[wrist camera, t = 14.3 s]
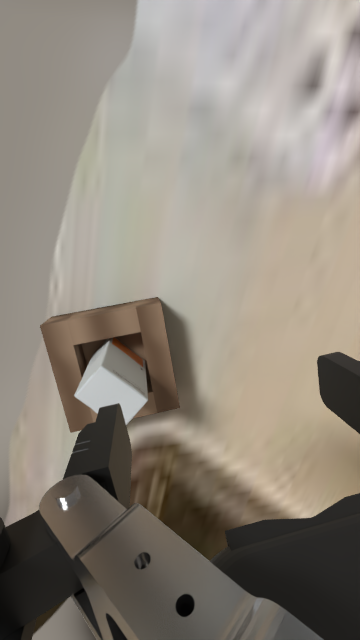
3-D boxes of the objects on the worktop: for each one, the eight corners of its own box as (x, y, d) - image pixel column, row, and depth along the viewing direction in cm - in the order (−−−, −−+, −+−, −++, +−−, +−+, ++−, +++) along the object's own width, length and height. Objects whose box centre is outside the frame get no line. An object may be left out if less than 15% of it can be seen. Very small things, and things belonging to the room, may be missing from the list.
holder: (157, 297, 40) (160, 302, 35) (175, 390, 43) (180, 407, 39) (51, 316, 39) (40, 325, 34) (77, 412, 42) (70, 432, 37)
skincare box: (146, 359, 41) (150, 401, 29) (125, 382, 41) (122, 432, 29) (111, 331, 39) (101, 364, 28) (90, 355, 39) (71, 398, 28)
